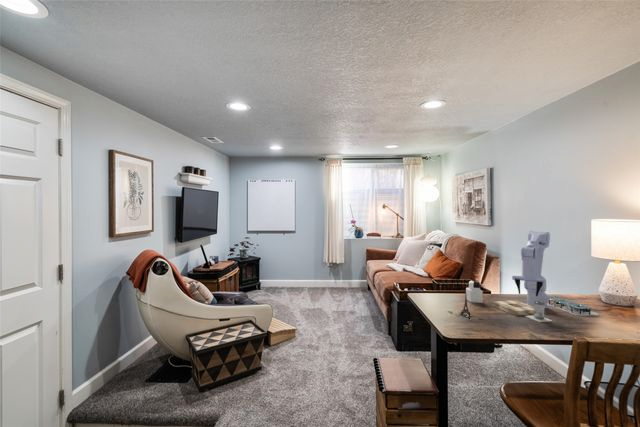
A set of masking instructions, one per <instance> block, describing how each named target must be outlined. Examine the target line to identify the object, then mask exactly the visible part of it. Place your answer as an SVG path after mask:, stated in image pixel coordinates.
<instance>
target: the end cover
mask: <svg viewBox="0 0 640 427" xmlns="http://www.w3.org/2000/svg"><path fill="white" fill-rule="evenodd" d="M545 310H546V308H545V303H543V302H539V301H534V314H533V315H534V318H536V319H540V320H544V318H545Z"/></svg>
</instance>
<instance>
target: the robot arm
mask: <svg viewBox="0 0 640 427" xmlns="http://www.w3.org/2000/svg"><path fill="white" fill-rule="evenodd" d="M527 235H528V236H527V238H528V240H527V243H526V245H525V246H524V247H521V250H520V254H521V256H520V257H521V261H522V266H521V267H522V268H521V270H522V271H521V275H512V276H511V277H512V278H511V280H513V281H514V282H515V285H516V287H517V290H518V294H519V295H520V294H521V281H523V282H524V283H523V287H524V289H525V290H526V292H527V294H526V297H527V298H526V304H527V305H530V306H533V307H534V301H539V302H543V303H545V309H549V306H548V305H547V303H548V294H547V293H546V291H547V279H546V278H545V277H544V276H543V275H542V270H543V262H544V261H543V260H544V253H545V250H546V249H547V248H549V246H550V240H551V234H550V232H549V231H536V230H535V231H534V230H533V231H532V230H530V231H528V234H527Z"/></svg>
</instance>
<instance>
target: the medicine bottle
mask: <svg viewBox="0 0 640 427" xmlns="http://www.w3.org/2000/svg"><path fill="white" fill-rule="evenodd" d="M466 293H467V302H469V303H477V304H479V303H480V304H482V303H483V299H484V298H483V295H484V291H483V290H481V282H480V281H478V280H470V281H469V282H468V287H466V288H465V294H466Z"/></svg>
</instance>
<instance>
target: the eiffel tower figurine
mask: <svg viewBox="0 0 640 427" xmlns="http://www.w3.org/2000/svg"><path fill="white" fill-rule="evenodd" d="M464 300H465V301H464V304H463V308H462V310H461V311H460V312H459V314H455V316H456V317H458V318H459V319H462V320H466V319H468V318H467V317H466V316H467V314H468V315H469V318H470V317H471V318H472V314H471V312H470V311H469V310H470V309H469V308H468V300H467V293H466V292H465V299H464ZM447 312H448V313H450V314H451V315H454V312H453V311H451V310H448V311H447ZM458 315H460V316H458ZM470 315H471V316H470Z"/></svg>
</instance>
